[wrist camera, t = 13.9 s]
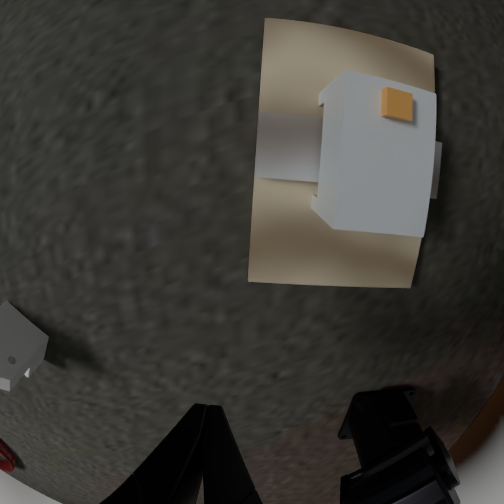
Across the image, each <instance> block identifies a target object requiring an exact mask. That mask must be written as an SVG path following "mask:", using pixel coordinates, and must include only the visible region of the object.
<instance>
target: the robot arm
mask: <svg viewBox="0 0 504 504" xmlns="http://www.w3.org/2000/svg"><path fill="white" fill-rule="evenodd" d="M415 394H416V390H415V389H414V388H413V387H410V388H403V389H395V390H386V391H377V392H366V393H357V394H355V395H354V396H353V398H352V401H351V404H350V406H349V409H348V411H347V414H346V416H345V419H344V421H343V424H342V426H341V429H340V431H339V433H338V437H339V439H340V440H343V439H353V441H354V444H355V447H356V451H357V454H358V458H359V461H360V465H361V469H359V470H357V471H355V472H353V473H351V474H349V475H344V476H342V477H341V485H340V504H460V499H459V497H458V495H457V493H456V491H455V489H454V488H455V487H456V486H458V485H459V484H460V481H459V478H458V474H457V472H456V469H455V466H454V463H453V460H452V458H451V456H450V454H449V452H448V450H447V449H446V447H445V445H444V443H443V441H442V440H441V439H440V438H439V436H438V435H437V434H436V433H435V431H434V430H433V429H432V428H431V426H429V427H428V428H426V429H425V431H424V432H422V430H421V428H420V426H419V424H418V418H417V416H416V414H415V412H414V410H413V408H412V407H411V405H410V403H411V401H412V400H413V398H414V396H415ZM358 398H359V399H358ZM133 474H134V475H133ZM133 474H131V475H130V476H129V477H128V478H127V479H126V481H125V482H124V483H123V484H122V485H121V486H119V487H118V488H117V489H116V490H115V491H114V492H113V493H112V494H111V495H109V496H108V497H107V498H106V499H105V500H103V501H102V502H101V503H99V504H196V501H197V497H198V493H199V489H200V485H201V481H202V477H203V485H204V504H262V502H261V500H260V497H259V495H258V493H257V491H256V490H255V487H254V484H253V482H252V480H251V478H250V475H249V473H248V471H247V468H246V466H245V463H244V461H243V459H242V456H241V454H240V451H239V449H238V446H237V444H236V441H235V439H234V436H233V434H232V431H231V429H230V426H229V423H228V421H227V418H226V415H225V413H224V410H223V408H222V406H219V405H209V406H208V405H206V404H198V403H196V404H194V405H193V406H192V407H191V408H190V409H189V411H188V412H187V413H186V414H185V415H184V416H183V418H182V419H181V420H180V421H179V422H178V423H177V424H176V426H175V427H174V428H173V429H172V430H171V431H170V432H169V434H168V435H167V436H166V437H165V438H164V439H163V440H162V441H161V443H160V444H159V445H158V446H157V447H156V448H155V449H154V450H153V452H152V453H151V454H150V455H149V456H148V457H147V458H146V459H145V460H144V461H143V462H142V464H141V465H140V466H139V467H138V468H137V469H136V470H135V471H134V472H133Z"/></svg>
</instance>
